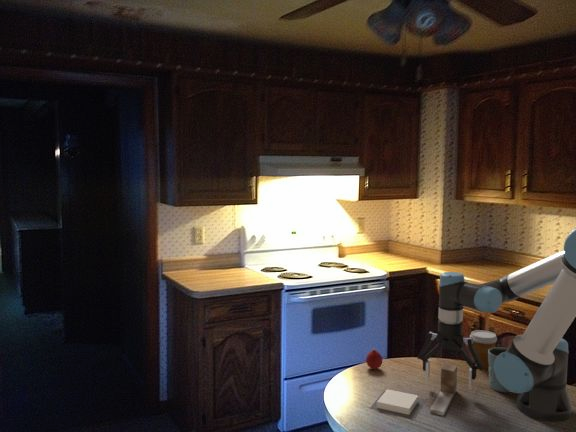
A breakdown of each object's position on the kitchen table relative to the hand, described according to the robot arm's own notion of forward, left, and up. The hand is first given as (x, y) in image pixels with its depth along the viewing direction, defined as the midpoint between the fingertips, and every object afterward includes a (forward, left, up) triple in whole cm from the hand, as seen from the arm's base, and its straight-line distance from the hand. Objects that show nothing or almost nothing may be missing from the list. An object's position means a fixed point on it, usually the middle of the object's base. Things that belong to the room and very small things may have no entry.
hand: (448, 384), depth 180 cm
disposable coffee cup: (-6, -30, -3) cm, 31 cm away
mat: (+12, +15, -3) cm, 19 cm away
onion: (+28, -8, -3) cm, 29 cm away
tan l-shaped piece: (0, +7, -3) cm, 8 cm away
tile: (+12, +11, -2) cm, 17 cm away
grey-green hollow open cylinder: (-15, -14, -3) cm, 21 cm away
